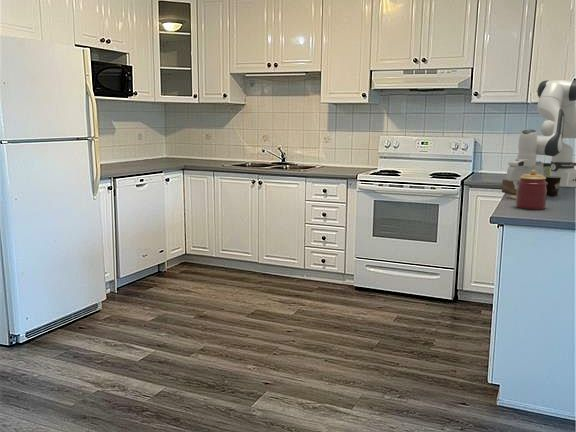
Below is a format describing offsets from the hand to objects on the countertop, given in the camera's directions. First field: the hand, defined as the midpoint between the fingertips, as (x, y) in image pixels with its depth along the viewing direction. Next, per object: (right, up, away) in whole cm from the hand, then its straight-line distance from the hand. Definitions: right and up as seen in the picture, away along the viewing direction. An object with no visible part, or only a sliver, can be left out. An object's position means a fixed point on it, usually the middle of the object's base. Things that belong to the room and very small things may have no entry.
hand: (524, 188), depth 285 cm
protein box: (+16, +1, +29) cm, 33 cm away
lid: (0, -5, +1) cm, 5 cm away
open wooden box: (+4, -2, +16) cm, 17 cm away
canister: (-9, -10, -26) cm, 30 cm away
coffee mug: (+16, -3, +9) cm, 18 cm away
